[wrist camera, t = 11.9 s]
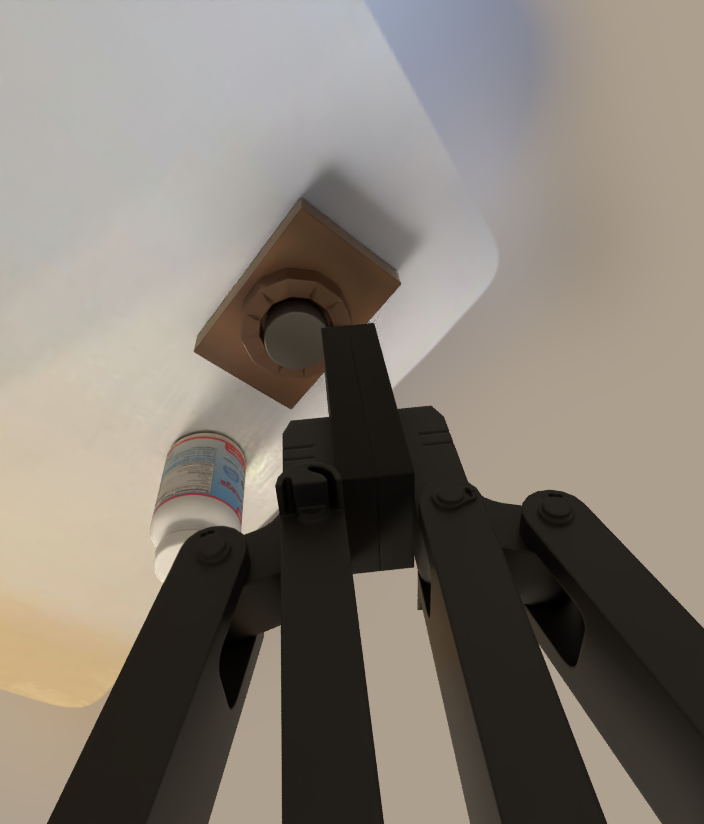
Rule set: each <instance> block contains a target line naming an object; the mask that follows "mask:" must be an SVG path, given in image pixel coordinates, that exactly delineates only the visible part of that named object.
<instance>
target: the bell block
mask: <svg viewBox="0 0 704 824" xmlns="http://www.w3.org/2000/svg"><path fill="white" fill-rule="evenodd" d="M400 285H401V282H400V279H399V277H398V274H397V272H396V270H394V269H393V268H392V267H390V266H389V265H388V264H387V263H385V262H384V261H383V260H381V259H380V258H379V257H377V256H376V255H375V254H374V253H372V252H371V251H370V250H368V249H367V248H366V247H364V246H363V245H362V244H361V243H359V242H358V241H357V240H355V239H354V238H353V237H351V236H350V235H349V234H348V233H346V232H345V231H344V230H342V229H341V228H340V227H338V226H337V225H336V224H334V223H333V222H332V221H331V220H329V219H328V218H327V217H325V216H324V215H323V214H321V213H320V212H319V211H318V210H316V209H315V208H314V207H312V206H311V205H310V204H308V203H307V202H306V201H305V200H303V199H302V198H300V199H299V200H298V201H297V203H296V204H295V205H294V207H293V208H292V210H291V211H290V212H289V214H288V215H287V216H286V218H285V219H284V220H283V222H282V223H281V224H280V226H279V227H278V228H277V230H276V231H275V232H274V234H273V235H272V236H271V238H270V239H269V240H268V242H267V243H266V244H265V246H264V247H263V249H262V250H261V251H260V253H259V254H258V255H257V257H256V258H255V259H254V261H253V262H252V263H251V265H250V266H249V267H248V269H247V270H246V271H245V273H244V274H243V275H242V277H241V278H240V279H239V281H238V282H237V284H236V285H235V286H234V288H233V289H232V290H231V292H230V293H229V294H228V296H227V297H226V298H225V300H224V301H223V302H222V304H221V305H220V306H219V308H218V309H217V310H216V312H215V313H214V314H213V316H212V317H211V318H210V320H209V321H208V323H207V324H206V325H205V327H204V328H203V329H202V331H201V332H200V333H199V335H198V336H197V339H196V344H195V348H194V352H195V353H196V354H198V355H200V356H201V357H203V358H205V359H206V360H208V361H210V362H212V363H213V364H215V365H217V366H218V367H220V368H222V369H223V370H225V371H227V372H228V373H230V374H232V375H233V376H235V377H237V378H239V379H240V380H242V381H244V382H245V383H247V384H249V385H250V386H252V387H254V388H255V389H257V390H259V391H260V392H262V393H264V394H266V395H267V396H269V397H271V398H272V399H274V400H276V401H277V402H279V403H281V404H282V405H284V406H286V407H287V408H289V409H292V408H293V407H294V406H295V405H296V404H297V402H298V401H299V400H300V399H301V398H302V397H303V396H304V394H305V393H306V392H307V391H308V390H309V389H310V388H311V386H312V385H313V384H314V383H315V382H316V381H317V380H318V378H319V377H320V376H321V375H322V374H323V373H324V372H325V368H324V357H323V358H322V359H321V360H320V361H319V362H318V363H316V364H315V365H313V366H311V367H308V368H304V369H289V368H285V367H283V366H281V365H279V364H277V363H276V362H275V361H274V360H272V359H271V357H270V356H269V355H268V353H267V351H266V349H265V345H264V329H265V321H266V318H267V316H268V315H269V313H270V312H271V311H272V310H273V309H274V308H275V307H276V306H278V305H279V304H281V303H283V302H286V301H290V300H302V301H306V302H309V303H312V304H313V305H315V306H316V307H318V308H319V309H320V310H321V311H322V313H323V314H324V316H325V317H326V320H327V324H328V327H335V326H346V325H357V324H367V323H368V321H369V320H370V319H371V318H372V317H373V316H374V315H375V313H376V312H377V311H378V310H379V309H380V308H381V307H382V305H383V304H384V303H385V302H386V301H387V300H388V299H389V297H390V296H391V295H392V294H393V293H394V292H395V291H396V289H397V288H398V287H399V286H400Z"/></svg>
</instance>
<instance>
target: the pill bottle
mask: <svg viewBox="0 0 704 824" xmlns="http://www.w3.org/2000/svg"><path fill="white" fill-rule="evenodd" d="M245 470H246V463H245V458H244V455H243V453H242V451H241V450H240V448H239V447H238V446H237V445H236V444H235V443H234V442H233V441H231V440H230V439H228V438H226V437H224V436H222V435H218V434H214V433H198V434H193V435H190V436H187V437H184V438H182V439H180V440H179V441H178V442H176V443H175V444H174V445H173V446H172V447H171V449H170V451H169V452H168V455H167V458H166V462H165V466H164V470H163V474H162V479H161V483H160V487H159V492H158V496H157V500H156V504H155V509H154V513H153V517H152V521H151V527H150V535H151V540H152V543H153V545H154V547H155V548H156V551H155V559H154V571H155V573H156V575H157V577H158V578H159V580H160V581H161V582H162V583H164V581H165V579H166V577H167V575H168V573H169V571H170V569H171V567H172V565H173V562H174V560H175V558H176V556H177V554H178V552H179V550H180V548H181V546H182V545H183V544H184V542H185V541H186V540H187V539H188V538H189V537H190V536H192V535H193V534H195V533H196V532H197V531H199V530H202V529H205V528H208V527H212V526H227V527H232V528H235V529H236V530H238V531H239V532H241V525H242V512H243V497H244V484H245Z"/></svg>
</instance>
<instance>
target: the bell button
mask: <svg viewBox="0 0 704 824" xmlns="http://www.w3.org/2000/svg"><path fill="white" fill-rule="evenodd" d="M324 327H328V324H327V320H326V317H325V316H324V314H323V313H322V311H321V310H320V309H319V308H318V307H316V306H315V305H313V304H312V303H309V302H306V301H302V300H290V301H286V302H283V303H281V304H279V305H278V306H276V307H275V308H274V309H273V310H272V311H271V312H270V313H269V315H268V316H267V318H266V321H265V329H264V345H265V349H266V351H267V353H268V355H269V356H270V357H271V359H272V360H274V361H275V362H276V363H277V364H279V365H281V366H283V367H285V368H289V369H304V368H308V367H311V366H313V365H315V364H316V363H318V362H319V361H320V360H321V359H322V358H323V346H322V334H321V328H324Z"/></svg>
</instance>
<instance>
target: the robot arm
mask: <svg viewBox="0 0 704 824" xmlns="http://www.w3.org/2000/svg"><path fill="white" fill-rule="evenodd" d="M321 334H322V346H323V357H324V368H325V379H326V391H327V402H328V412H329V417H324V418H313V419H303V420H292V421H290V423H289V424H288V426H287V428H286V429H285V431H284V432H283V473H282V474H281V475H280V476H279V477H278V479H277V482H276V486H275V487H276V493H277V500H278V506H279V512H280V513H279V515H278V516H277V517H276V518H275V519H274V520H273V521H272V522H271V523H269V524H268V525H266V526H265V527H263V528H260V529H258V530H256V531H253V532H251V533H248V534H245V535H243V534H242V533H241V532H239V531H238V530H236V529H235V528H232V527H227V526H212V527H208V528H205V529H202V530H199V531H197V532H196V533H195V534H193V535H192V536H190V537H189V538H188V539H187V540H186V541H185V542H184V544H183V545H182V546H181V548H180V550H179V552H178V554H177V556H176V558H175V560H174V562H173V565H172V567H171V569H170V571H169V573H168V575H167V577H166V579H165V581H164V583H163V585H162V587H161V589H160V591H159V593H158V595H157V598H156V600H155V602H154V604H153V606H152V608H151V610H150V612H149V614H148V616H147V618H146V620H145V622H144V624H143V626H142V628H141V631H140V633H139V635H138V637H137V639H136V641H135V643H134V645H133V647H132V649H131V651H130V653H129V655H128V657H127V659H126V662H125V664H124V666H123V668H122V670H121V672H120V674H119V676H118V678H117V680H116V682H115V684H114V686H113V688H112V690H111V692H110V695H109V697H108V699H107V701H106V703H105V705H104V707H103V709H102V711H101V713H100V715H99V717H98V719H97V721H96V723H95V726H94V728H93V730H92V732H91V734H90V736H89V738H88V740H87V742H86V744H85V746H84V748H83V751H82V752H81V755H80V756H79V759H78V761H77V763H76V765H75V767H74V769H73V771H72V773H71V775H70V777H69V779H68V781H67V784H66V785H65V787H64V790H63V792H62V794H61V796H60V798H59V800H58V802H57V804H56V806H55V808H54V810H53V812H52V814H51V816H50V818H49V821H48V822H47V824H208V822H209V819H210V815H211V812H212V809H213V805H214V802H215V799H216V796H217V792H218V788H219V785H220V782H221V778H222V775H223V772H224V768H225V765H226V762H227V759H228V755H229V752H230V748H231V745H232V742H233V738H234V735H235V732H236V728H237V725H238V722H239V718H240V715H241V712H242V708H243V704H244V701H245V698H246V695H247V691H248V688H249V685H250V681H251V678H252V675H253V671H254V668H255V664H256V661H257V658H258V655H259V651H260V648H261V644H262V641H263V638H264V632H265V631H268V630H270V629H272V628H275V627H277V626H280V625H281V712H282V713H281V720H282V721H281V723H282V824H384V820H383V812H382V804H381V796H380V788H379V780H378V773H377V764H376V756H375V748H374V741H373V732H372V725H371V717H370V709H369V701H368V694H367V685H366V677H365V669H364V661H363V653H362V645H361V637H360V629H359V621H358V613H357V605H356V597H355V590H354V582H353V574H357V573H366V572H375V571H385V570H393V569H403V568H413V567H414V556H415V560H416V564H417V568H418V610H423V613H424V617H425V622H426V626H427V631H428V635H429V640H430V644H431V649H432V653H433V658H434V662H435V667H436V671H437V676H438V680H439V685H440V689H441V694H442V699H443V703H444V707H445V712H446V716H447V721H448V726H449V730H450V735H451V739H452V744H453V748H454V753H455V757H456V762H457V766H458V771H459V775H460V779H461V784H462V789H463V793H464V798H465V802H466V806H467V811H468V816H469V820H470V824H607V822H606V819H605V817H604V814H603V811H602V809H601V807H600V803H599V801H598V798H597V796H596V793H595V790H594V788H593V785H592V783H591V780H590V777H589V775H588V772H587V769H586V767H585V764H584V762H583V759H582V757H581V754H580V751H579V749H578V746H577V744H576V741H575V738H574V736H573V733H572V730H571V728H570V725H569V722H568V720H567V717H566V715H565V712H564V710H563V707H562V705H561V702H560V699H559V696H558V694H557V691H556V689H555V686H554V683H553V681H552V678H551V676H550V673H549V670H548V668H547V665H546V662H545V660H544V657H543V655H542V652H541V649H540V647H539V645H540V646H541V648H542V649H543V651H544V652H545V653H546V655H547V656H548V658H549V659H550V661H551V662H552V664H553V665H554V666H555V668H556V670H557V671H558V673H559V674H560V675H561V677H562V678H563V680H564V681H565V683H566V684H567V686H568V687H569V689H570V690H571V692H572V693H573V694H574V696H575V697H576V699H577V700H578V702H579V703H580V704H581V706H582V708H583V709H584V711H585V712H586V713H587V715H588V716H589V718H590V719H591V721H592V722H593V724H594V725H595V726H596V728H597V729H598V731H599V732H600V734H601V735H602V736H603V738H604V740H605V741H606V742H607V744H608V746H609V747H610V749H611V750H612V751H613V753H614V754H615V756H616V757H617V759H618V760H619V762H620V763H621V765H622V766H623V767H624V769H625V770H626V772H627V773H628V775H629V776H630V778H631V779H632V781H633V782H634V784H635V785H636V787H637V788H638V789H639V791H640V792H641V794H642V795H643V797H644V798H645V800H646V801H647V803H648V804H649V805H650V807H651V808H652V810H653V811H654V813H655V814H656V816H657V817H658V819H659V820H660V822H661V823H662V824H704V628H703V627H702V626H701V625H700V624H699V623H698V622H697V621H696V620H695V619H694V618H693V617H692V616H691V615H690V613H689V612H688V611H687V610H686V609H685V608H684V607H683V606H682V605H681V604H680V603H679V602H678V601H677V600H676V599H675V598H674V597H673V596H672V595H671V594H670V593H669V592H668V590H667V589H666V588H664V586H663V585H662V584H661V583H660V582H659V581H658V580H657V579H656V578H655V577H654V576H653V575H652V574H651V573H650V572H649V571H648V570H647V569H646V567H644V565H643V564H642V563H641V562H640V561H639V560H638V559H637V558H636V557H635V556H634V555H633V554H632V553H631V552H630V551H629V550H628V549H627V548H626V547H625V546H624V544H622V543H621V541H620V540H619V539H618V538H617V537H616V536H615V535H614V534H613V533H612V532H611V531H610V530H609V529H608V528H607V527H606V526H605V525H604V524H603V523H602V522H601V520H600V519H599V518H598V517H597V516H596V515H595V514H594V513H593V512H592V511H591V510H590V509H589V508H588V507H587V506H586V505H585V504H584V503H583V502H582V501H580V500H579V499H577V498H576V497H575V496H573V495H570V494H568V493H565V492H562V491H555V490H544V491H537V492H535V493H533V494H531V495H529V496H528V497H527V498H526V499H525V501H524V502H523V504H522V506H521V505H513V504H506V503H500V502H495V501H492V500H490V499H487V498H484V497H483V496H482V495H481V494H480V493H479V491H478V489H477V488H476V487H474V486H473V485H471V484H470V483H469V482H468V481H467V478H466V475H465V473H464V470H463V467H462V464H461V462H460V459H459V456H458V454H457V451H456V448H455V446H454V444H453V440H452V437H451V435H450V433H449V429H448V427H447V424H446V421H445V418H444V416H442V415H441V414H440V413H439V412H438V411H437V410H436V409H434V408H433V407H432V406H423V407H413V408H402V409H397V406H396V402H395V398H394V395H393V391H392V387H391V384H390V380H389V376H388V373H387V369H386V365H385V362H384V358H383V354H382V350H381V347H380V343H379V339H378V336H377V332H376V328H375V325H374V323H368V324H357V325H346V326H335V327H324V328H321ZM538 643H539V644H538Z"/></svg>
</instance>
